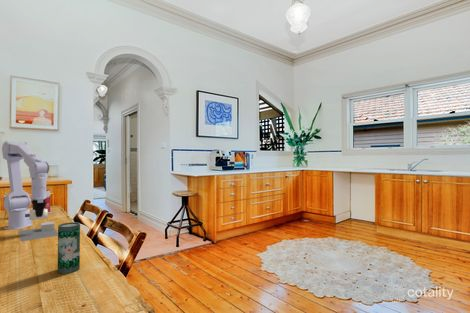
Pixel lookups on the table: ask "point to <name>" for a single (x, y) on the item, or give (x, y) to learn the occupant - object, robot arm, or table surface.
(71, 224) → the can
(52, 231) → the mat
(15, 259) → the table surface
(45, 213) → the plug
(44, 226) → the block
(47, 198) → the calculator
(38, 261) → the table surface
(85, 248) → the table surface
